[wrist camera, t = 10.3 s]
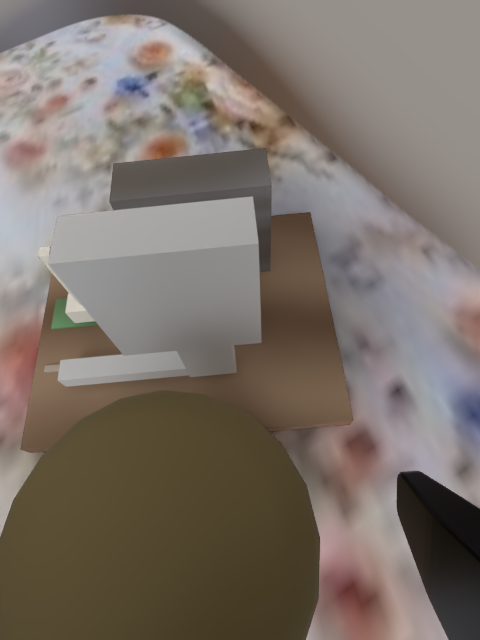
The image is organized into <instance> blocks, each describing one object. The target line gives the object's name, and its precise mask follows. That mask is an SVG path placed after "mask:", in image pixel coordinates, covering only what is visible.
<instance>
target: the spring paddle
mask: <svg viewBox="0 0 480 640" xmlns="http://www.w3.org/2000/svg"><path fill="white" fill-rule="evenodd" d="M48 265H49V266H50V267H51V268H52V270H53V271H54V272H55V273H56V274H57V276H58V277H59V278H60V279H61V280H62V282H63V283H64V284H65V285H66V287H67V288H68V289H69V290H70V291H71V293H72V294H73V295H74V296H75V297H76V299H77V300H78V301H79V302H80V303H81V305H82V306H83V307H84V308H85V309H86V311H87V312H88V313H89V314H90V315H91V317H92V318H93V319H94V320H95V322H96V323H97V324H98V325H99V326H100V328H101V329H102V330H103V331H104V332H105V334H106V335H107V336H108V337H109V338H110V340H111V341H112V342H113V343H114V344H115V346H116V347H117V348H118V349H119V350H120V352H121V353H122V354H121V355H110V356H99V357H89V358H78V359H67V360H60V367H59V373H58V380H57V381H59V382H60V383H62V384H63V385H64V386H66V387H69V386H80V385H91V384H101V383H112V382H123V381H134V380H145V379H156V378H167V377H177V376H188V375H189V376H190V377H199V376H209V375H220V374H231V373H237V368H236V355H235V347H234V345H244V344H255V343H262V340H261V306H260V272H259V242H258V234H257V226H256V218H255V209H254V201H253V196H252V197H242V198H232V199H222V200H212V201H202V202H192V203H182V204H172V205H162V206H152V207H142V208H132V209H122V210H112V211H102V212H92V213H82V214H72V215H62V216H57V218H56V224H55V229H54V234H53V240H52V245H51V250H50V256H49V261H48Z"/></svg>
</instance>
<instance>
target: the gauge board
mask: <svg viewBox="0 0 480 640" xmlns="http://www.w3.org/2000/svg"><path fill="white" fill-rule="evenodd" d="M252 196H253V201H254V209H255V218H256V226H257V234H258V242H259V272H260V306H261V340H262V343H255V344H244V345H234V347H235V355H236V368H237V373H231V374H220V375H209V376H199V377H190V376H189V375H188V376H177V377H167V378H156V379H145V380H134V381H123V382H112V383H101V384H91V385H80V386H69V387H66V386H64V385H63V384H62V383H60V382H59V381H57V380H58V373H59V367H60V360H67V359H78V358H89V357H99V356H110V355H121V354H122V353H121V352H120V350H119V349H118V348H117V347H116V346H115V344H114V343H113V342H112V341H111V340H110V338H109V337H108V336H107V335H106V334H105V332H104V331H103V330H102V329H101V328H100V326H99V325H98V324H97V323H96V322H95V321H92V322H82V323H74V322H73V321H72V320H71V319H70V317H69V316H68V315H67V314H66V313H65V310H66V304H67V297H68V292H67V290H66V289H65V288H64V287H63V286H62V284H61V283H60V282H59V281H58V280H57V278H56V277H55V276H54V275H53V274H52V275H51V281H50V287H49V292H48V298H47V303H46V309H45V315H44V320H43V326H42V331H41V337H40V343H39V348H38V354H37V359H36V365H35V371H34V376H33V382H32V387H31V393H30V399H29V404H28V410H27V416H26V421H25V427H24V432H23V438H22V444H21V450H24V451H27V452H30V453H34V452H45V451H47V450H48V449H49V448H50V447H51V446H52V445H53V444H54V443H55V442H57V441H58V440H59V439H60V438H61V437H62V436H63V435H64V434H65V433H66V432H67V431H68V430H69V429H71V428H72V427H73V426H74V425H75V424H76V423H77V422H78V421H79V420H81V419H83V418H84V417H86V416H88V415H90V414H92V413H94V412H96V411H98V410H100V409H101V408H103V407H105V406H107V405H109V404H111V403H113V402H115V401H117V400H118V399H121V398H126V397H130V396H135V395H140V394H145V393H150V392H154V391H159V390H168V391H178V392H188V393H198V394H205V395H208V396H211V397H213V398H215V399H217V400H220V401H222V402H224V403H226V404H229V405H231V406H233V407H235V408H238V409H240V410H242V411H244V412H247V413H249V414H250V415H251V416H252V417H253V418H254V419H255V420H256V421H257V422H259V423H260V424H261V425H262V426H263V427H264V428H265V429H266V430H267V431H280V430H292V429H303V428H314V427H325V426H336V425H348V424H350V423H351V422H352V421H353V415H352V410H351V405H350V401H349V396H348V391H347V386H346V381H345V377H344V372H343V367H342V362H341V358H340V353H339V348H338V343H337V338H336V334H335V329H334V324H333V319H332V314H331V310H330V305H329V300H328V295H327V291H326V286H325V281H324V276H323V271H322V267H321V262H320V257H319V252H318V247H317V243H316V238H315V233H314V228H313V224H312V219H311V214H310V212H307V213H297V214H287V215H276V216H271V179H270V173H269V166H268V160H267V153H266V148H262V149H252V150H243V151H233V152H223V153H213V154H204V155H194V156H184V157H174V158H164V159H155V160H145V161H135V162H125V163H116V164H113V173H112V183H111V192H110V204H111V206H112V208H113V210H122V209H132V208H142V207H152V206H162V205H172V204H182V203H192V202H202V201H212V200H222V199H232V198H242V197H252Z"/></svg>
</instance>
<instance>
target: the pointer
mask: <svg viewBox="0 0 480 640" xmlns="http://www.w3.org/2000/svg"><path fill="white" fill-rule="evenodd" d="M50 250H51V247H41V248H40V249H39V254H38V257H39V258H40V259H41V261H42V262H43V263H44V264H45V265H46V267H47V268H48V269H49V270H50V271H51V272H52V274H53V275H54V276H55V277H56V278H57V280H58V281H59V282H60V283H61V284H62V286H63V287H64V288H65V289H66V290H67V292H68V297H67V304H66V310H65V313H66V314H67V315H68V316H69V317H70V319H71V320H72V321H73V322H74V323H82V322H92V321H95V320H94V319H93V318H92V317H91V315H90V314H89V313H88V312H87V311H86V309H85V308H84V307H83V306H82V305H81V303H80V302H79V301H78V300H77V299H76V297H75V296H74V295H73V294H72V293H71V291H70V290H69V289H68V288H67V287H66V285H65V284H64V283H63V282H62V280H61V279H60V278H59V277H58V276H57V274H56V273H55V272H54V271H53V270H52V268H51V267H50V266H49V265H48V261H49V256H50Z"/></svg>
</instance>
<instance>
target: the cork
mask: <svg viewBox="0 0 480 640" xmlns="http://www.w3.org/2000/svg"><path fill="white" fill-rule="evenodd" d="M319 559H320V536H319V532H318V529H317V525H316V521H315V517H314V513H313V509H312V505H311V501H310V497H309V493H308V489H307V485H306V484H305V482H304V480H303V479H302V477H301V475H300V474H299V472H298V470H297V469H296V467H295V465H294V464H293V462H292V460H291V458H290V457H289V455H288V453H287V452H286V450H285V448H284V447H283V445H282V443H281V442H280V441H278V440H277V439H276V438H275V437H274V436H273V435H272V434H271V433H270V432H269V431H267V430H266V429H265V428H264V427H263V426H262V425H261V424H260V423H259V422H257V421H256V420H255V419H254V418H253V417H252V416H251V415H250V414H249V413H247V412H244V411H242V410H240V409H238V408H235V407H233V406H231V405H229V404H226V403H224V402H222V401H220V400H217V399H215V398H213V397H211V396H208V395H205V394H198V393H188V392H178V391H168V390H159V391H154V392H150V393H145V394H140V395H135V396H130V397H126V398H121V399H118V400H117V401H115V402H113V403H111V404H109V405H107V406H105V407H103V408H101V409H100V410H98V411H96V412H94V413H92V414H90V415H88V416H86V417H84V418H83V419H81V420H79V421H78V422H77V423H76V424H75V425H74V426H73V427H72V428H71V429H69V430H68V431H67V432H66V433H65V434H64V435H63V436H62V437H61V438H60V439H59V440H58V441H57V442H55V443H54V444H53V445H52V446H51V447H50V448H49V449H48V450H47V451H46V452H45V453H44V454H43V455H42V457H41V458H40V460H39V461H38V463H37V464H36V466H35V467H34V469H33V471H32V472H31V474H30V475H29V477H28V478H27V480H26V481H25V483H24V484H23V486H22V487H21V489H20V491H19V492H18V494H17V495H16V497H15V498H14V500H13V503H12V505H11V508H10V511H9V514H8V517H7V520H6V523H5V525H4V528H3V531H2V534H1V537H0V640H306V637H307V634H308V631H309V627H310V624H311V621H312V618H313V615H314V611H315V608H316V605H317V602H318V598H319Z"/></svg>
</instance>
